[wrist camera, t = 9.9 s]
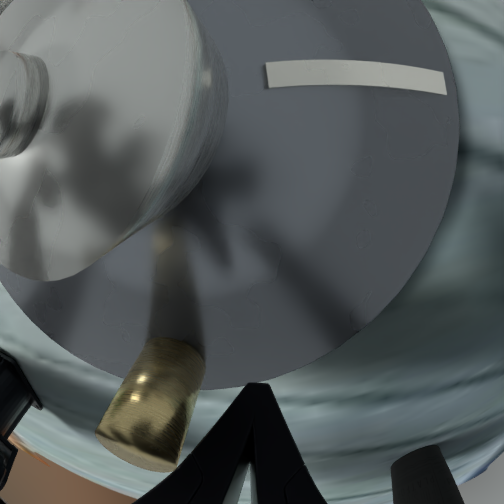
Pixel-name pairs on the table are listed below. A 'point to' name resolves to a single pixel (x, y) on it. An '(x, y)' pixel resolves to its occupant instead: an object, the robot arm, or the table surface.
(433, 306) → the table surface
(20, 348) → the table surface
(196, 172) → the cover
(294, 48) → the platter
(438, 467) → the drinking cup
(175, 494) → the robot arm
